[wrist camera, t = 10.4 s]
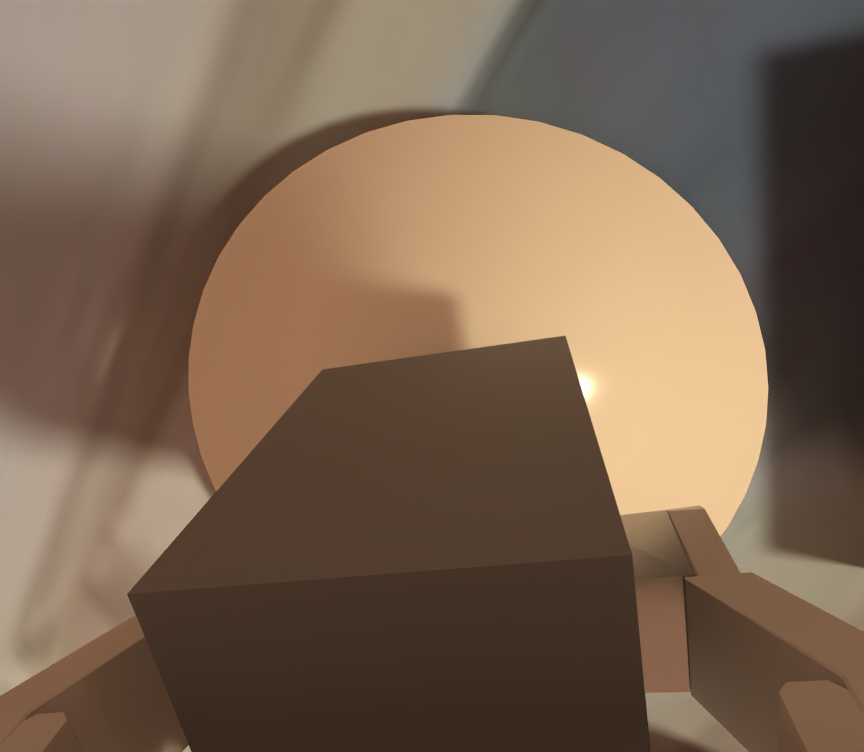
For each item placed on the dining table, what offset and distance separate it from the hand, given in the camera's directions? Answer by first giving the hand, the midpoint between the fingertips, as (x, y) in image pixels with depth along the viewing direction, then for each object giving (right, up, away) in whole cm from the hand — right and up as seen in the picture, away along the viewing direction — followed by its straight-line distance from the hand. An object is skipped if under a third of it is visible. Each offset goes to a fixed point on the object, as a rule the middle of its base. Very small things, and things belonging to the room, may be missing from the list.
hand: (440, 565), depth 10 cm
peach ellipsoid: (+1, +2, +6) cm, 7 cm away
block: (0, +1, +3) cm, 4 cm away
